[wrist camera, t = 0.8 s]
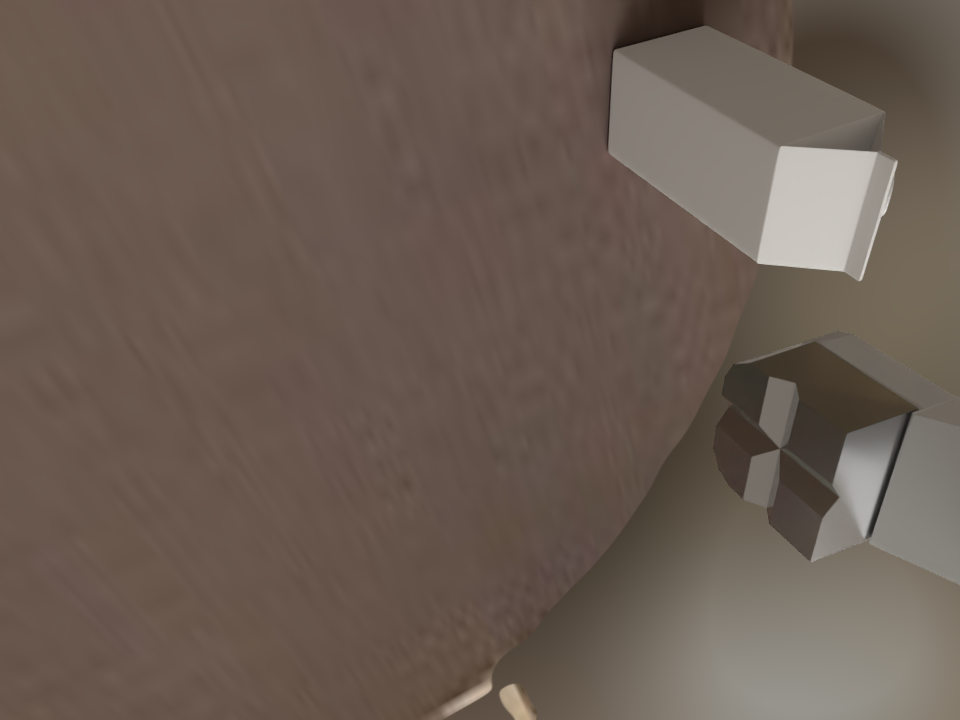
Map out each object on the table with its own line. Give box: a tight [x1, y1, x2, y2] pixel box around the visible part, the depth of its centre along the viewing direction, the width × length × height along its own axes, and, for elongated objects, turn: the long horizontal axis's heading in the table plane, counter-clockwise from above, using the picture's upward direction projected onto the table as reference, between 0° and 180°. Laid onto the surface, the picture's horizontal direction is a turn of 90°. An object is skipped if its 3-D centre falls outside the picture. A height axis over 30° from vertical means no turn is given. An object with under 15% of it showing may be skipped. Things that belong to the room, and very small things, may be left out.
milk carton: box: [608, 26, 898, 281], centre depth 49 cm, size 7×7×19 cm
